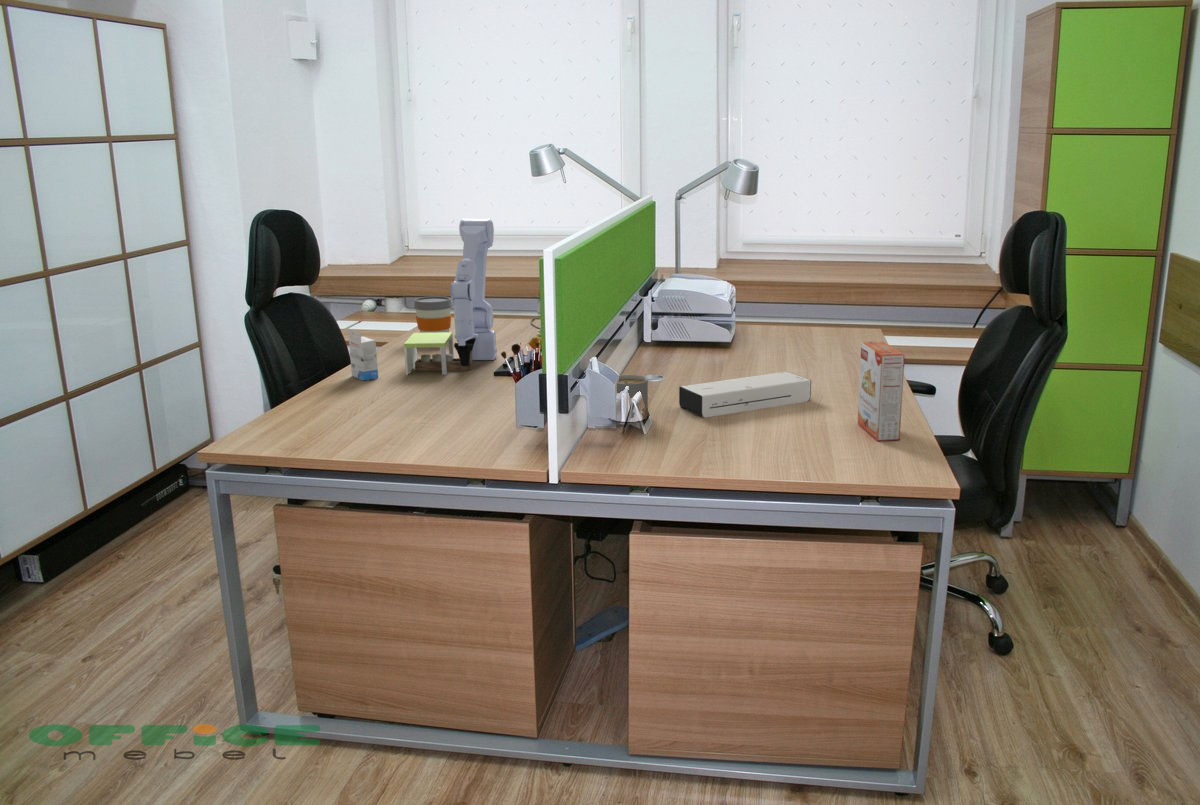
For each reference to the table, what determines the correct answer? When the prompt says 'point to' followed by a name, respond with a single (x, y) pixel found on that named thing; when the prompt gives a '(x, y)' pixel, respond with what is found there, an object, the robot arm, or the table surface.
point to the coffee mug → (634, 386)
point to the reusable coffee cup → (433, 314)
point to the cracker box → (881, 390)
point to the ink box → (362, 356)
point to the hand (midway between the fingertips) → (466, 363)
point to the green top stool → (427, 341)
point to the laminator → (744, 394)
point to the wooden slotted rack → (436, 363)
